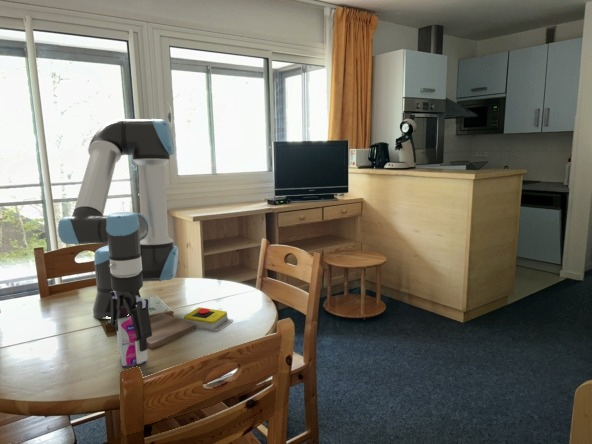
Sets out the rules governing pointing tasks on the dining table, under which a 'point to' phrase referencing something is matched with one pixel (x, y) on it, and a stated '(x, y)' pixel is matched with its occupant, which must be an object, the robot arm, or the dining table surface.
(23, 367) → the dining table surface
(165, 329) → the walnut board
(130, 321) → the supplement box
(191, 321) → the emergency button
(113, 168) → the robot arm
